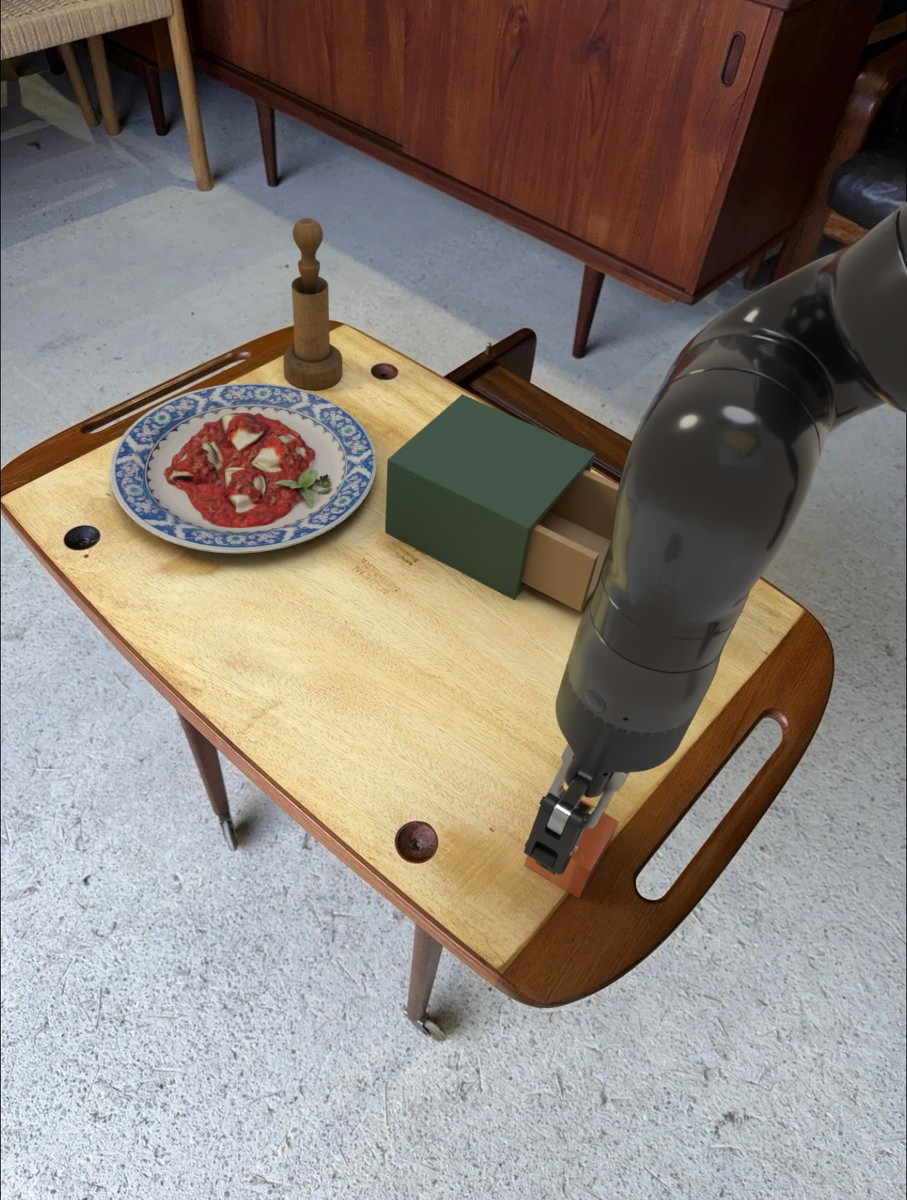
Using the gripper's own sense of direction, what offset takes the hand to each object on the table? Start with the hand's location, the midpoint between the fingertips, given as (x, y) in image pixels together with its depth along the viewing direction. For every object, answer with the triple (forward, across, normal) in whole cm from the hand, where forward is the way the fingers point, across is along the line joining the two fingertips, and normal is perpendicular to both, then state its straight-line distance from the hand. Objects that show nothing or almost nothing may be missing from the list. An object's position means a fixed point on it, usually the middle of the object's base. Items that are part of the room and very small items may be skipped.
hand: (579, 814), depth 61 cm
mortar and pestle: (+7, +36, +52) cm, 63 cm away
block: (+6, 0, 0) cm, 6 cm away
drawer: (+5, +26, +11) cm, 29 cm away
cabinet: (+6, +26, +23) cm, 35 cm away
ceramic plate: (+7, +18, +46) cm, 50 cm away
